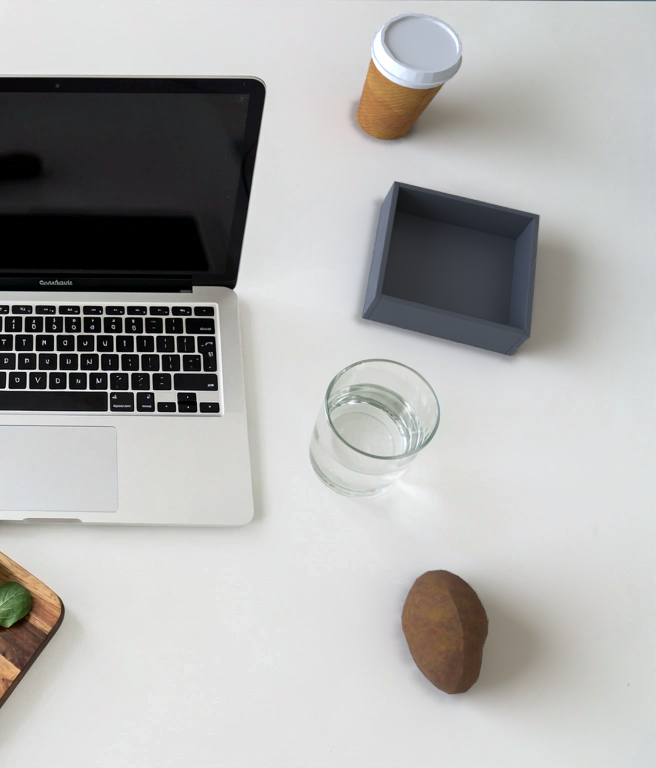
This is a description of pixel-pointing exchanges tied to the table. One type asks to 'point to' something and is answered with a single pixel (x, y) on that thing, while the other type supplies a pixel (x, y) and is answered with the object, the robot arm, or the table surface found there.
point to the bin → (453, 268)
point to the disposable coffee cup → (406, 73)
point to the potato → (445, 630)
